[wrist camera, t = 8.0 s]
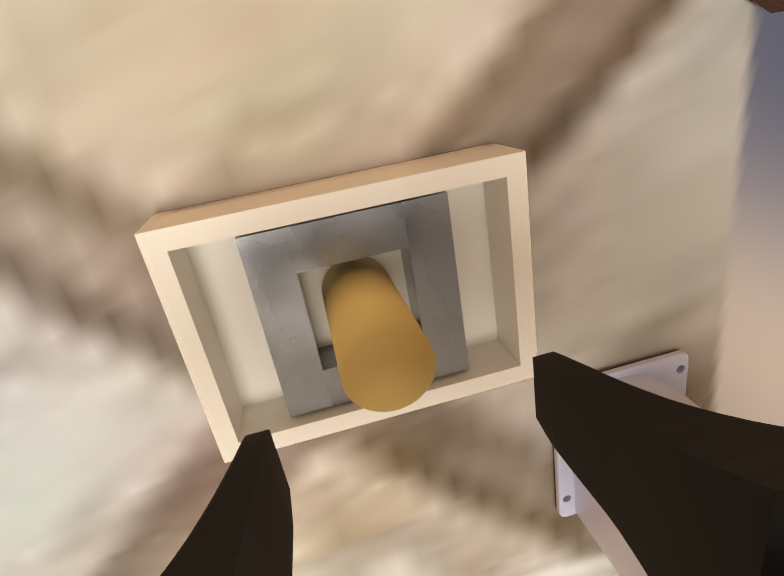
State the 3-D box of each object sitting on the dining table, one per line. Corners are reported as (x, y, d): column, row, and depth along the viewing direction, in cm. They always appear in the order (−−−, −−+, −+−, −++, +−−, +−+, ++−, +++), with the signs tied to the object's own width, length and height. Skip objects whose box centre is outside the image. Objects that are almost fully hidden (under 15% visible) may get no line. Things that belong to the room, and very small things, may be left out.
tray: (510, 344, 25) (538, 376, 22) (231, 418, 23) (224, 463, 20) (493, 143, 21) (525, 150, 18) (154, 213, 19) (134, 234, 16)
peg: (392, 313, 22) (438, 401, 16) (326, 324, 22) (346, 420, 15) (386, 250, 21) (433, 318, 15) (316, 260, 21) (334, 335, 14)
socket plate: (454, 347, 24) (469, 369, 22) (289, 390, 23) (290, 417, 21) (432, 182, 20) (447, 192, 19) (238, 225, 19) (234, 238, 18)
